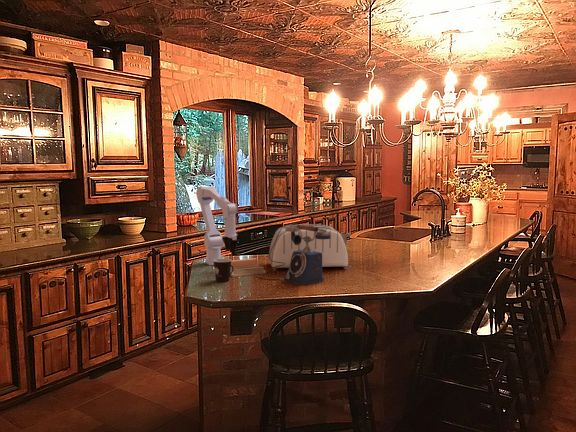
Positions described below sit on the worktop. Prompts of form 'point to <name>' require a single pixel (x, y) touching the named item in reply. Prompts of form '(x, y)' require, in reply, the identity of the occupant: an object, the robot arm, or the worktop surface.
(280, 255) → the toaster
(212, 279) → the worktop surface
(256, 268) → the drying rack
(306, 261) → the rotary telephone
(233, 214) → the robot arm
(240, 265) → the clay strip
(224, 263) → the coffee mug
